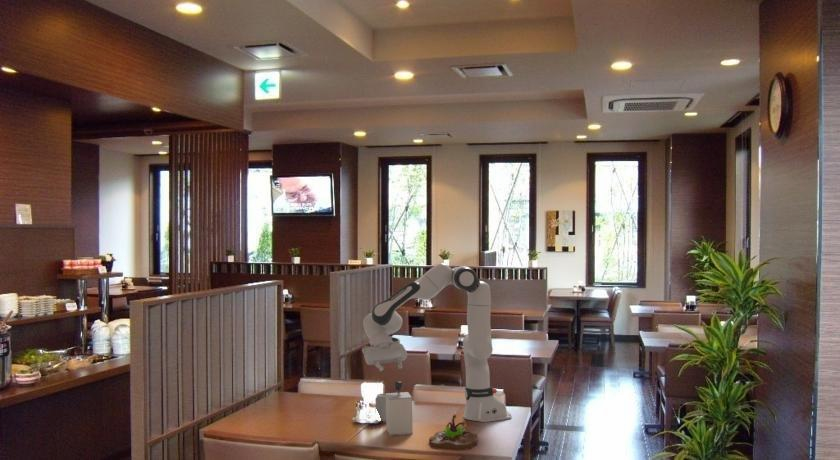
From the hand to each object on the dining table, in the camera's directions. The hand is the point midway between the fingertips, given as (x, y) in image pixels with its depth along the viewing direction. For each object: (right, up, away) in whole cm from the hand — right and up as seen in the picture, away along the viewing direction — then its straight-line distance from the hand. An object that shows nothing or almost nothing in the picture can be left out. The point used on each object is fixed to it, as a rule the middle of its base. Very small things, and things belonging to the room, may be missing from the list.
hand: (391, 369), depth 305 cm
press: (+4, -26, -5) cm, 27 cm away
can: (-4, -27, +14) cm, 30 cm away
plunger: (+4, -26, -5) cm, 27 cm away
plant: (+27, -26, -21) cm, 43 cm away
